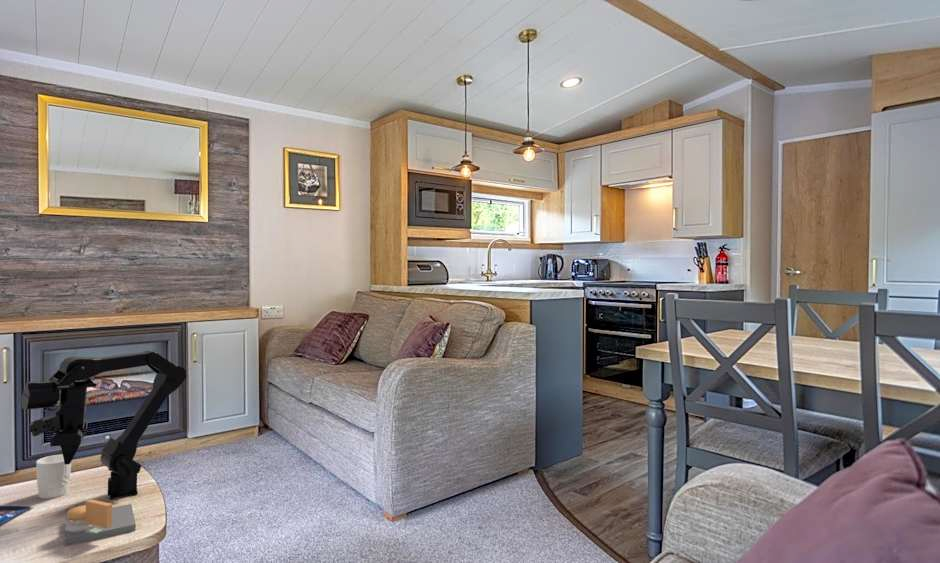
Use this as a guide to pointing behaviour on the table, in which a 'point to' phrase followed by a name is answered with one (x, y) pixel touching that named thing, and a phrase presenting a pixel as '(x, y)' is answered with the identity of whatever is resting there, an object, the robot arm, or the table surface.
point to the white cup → (52, 476)
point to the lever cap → (93, 513)
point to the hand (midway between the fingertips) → (67, 463)
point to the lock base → (85, 532)
